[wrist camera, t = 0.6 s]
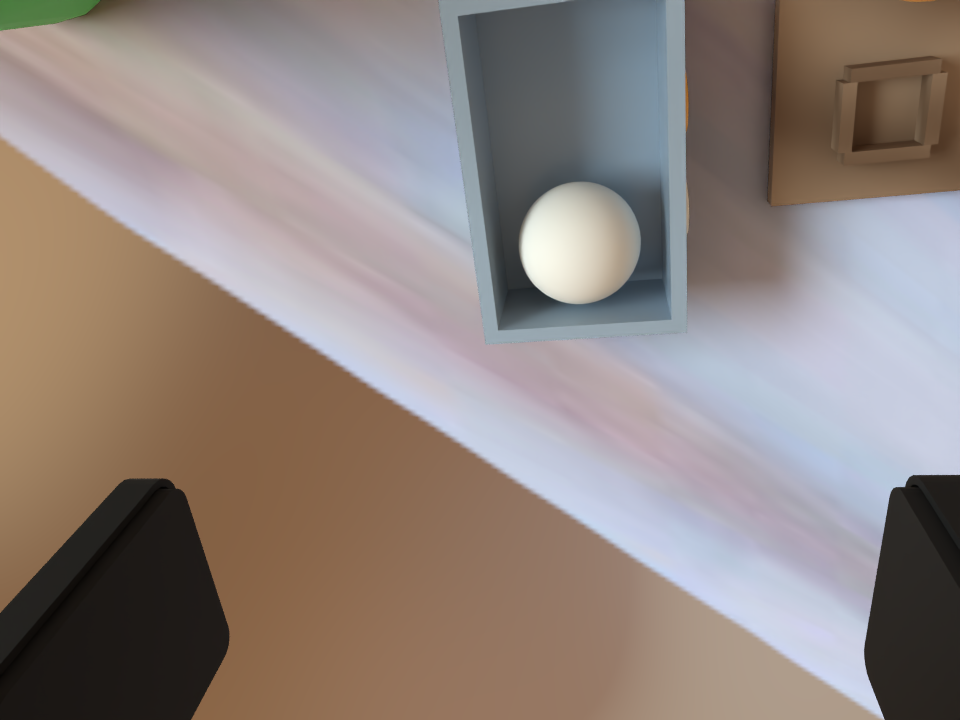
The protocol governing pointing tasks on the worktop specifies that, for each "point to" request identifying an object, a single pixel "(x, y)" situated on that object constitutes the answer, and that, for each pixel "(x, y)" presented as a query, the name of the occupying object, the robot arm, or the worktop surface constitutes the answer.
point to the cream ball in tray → (579, 242)
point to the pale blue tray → (571, 149)
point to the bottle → (40, 12)
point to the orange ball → (918, 0)
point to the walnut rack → (864, 100)
